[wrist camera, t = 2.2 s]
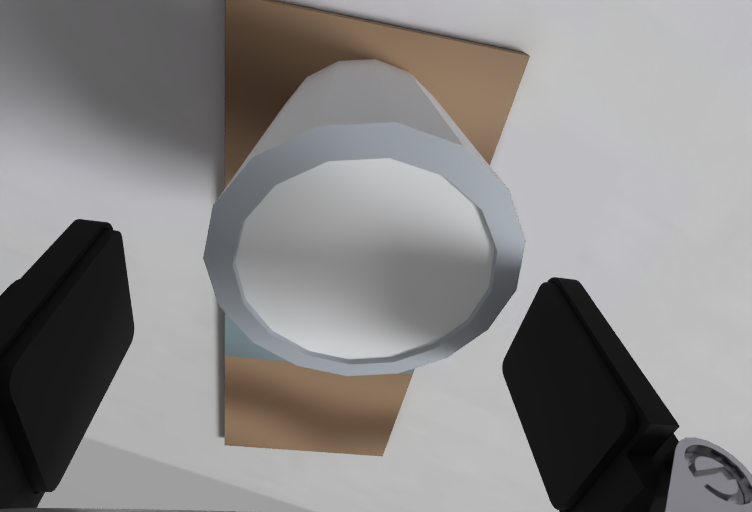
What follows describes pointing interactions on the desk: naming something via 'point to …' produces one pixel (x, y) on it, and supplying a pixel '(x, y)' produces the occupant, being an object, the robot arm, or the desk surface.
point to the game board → (244, 130)
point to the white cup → (363, 229)
